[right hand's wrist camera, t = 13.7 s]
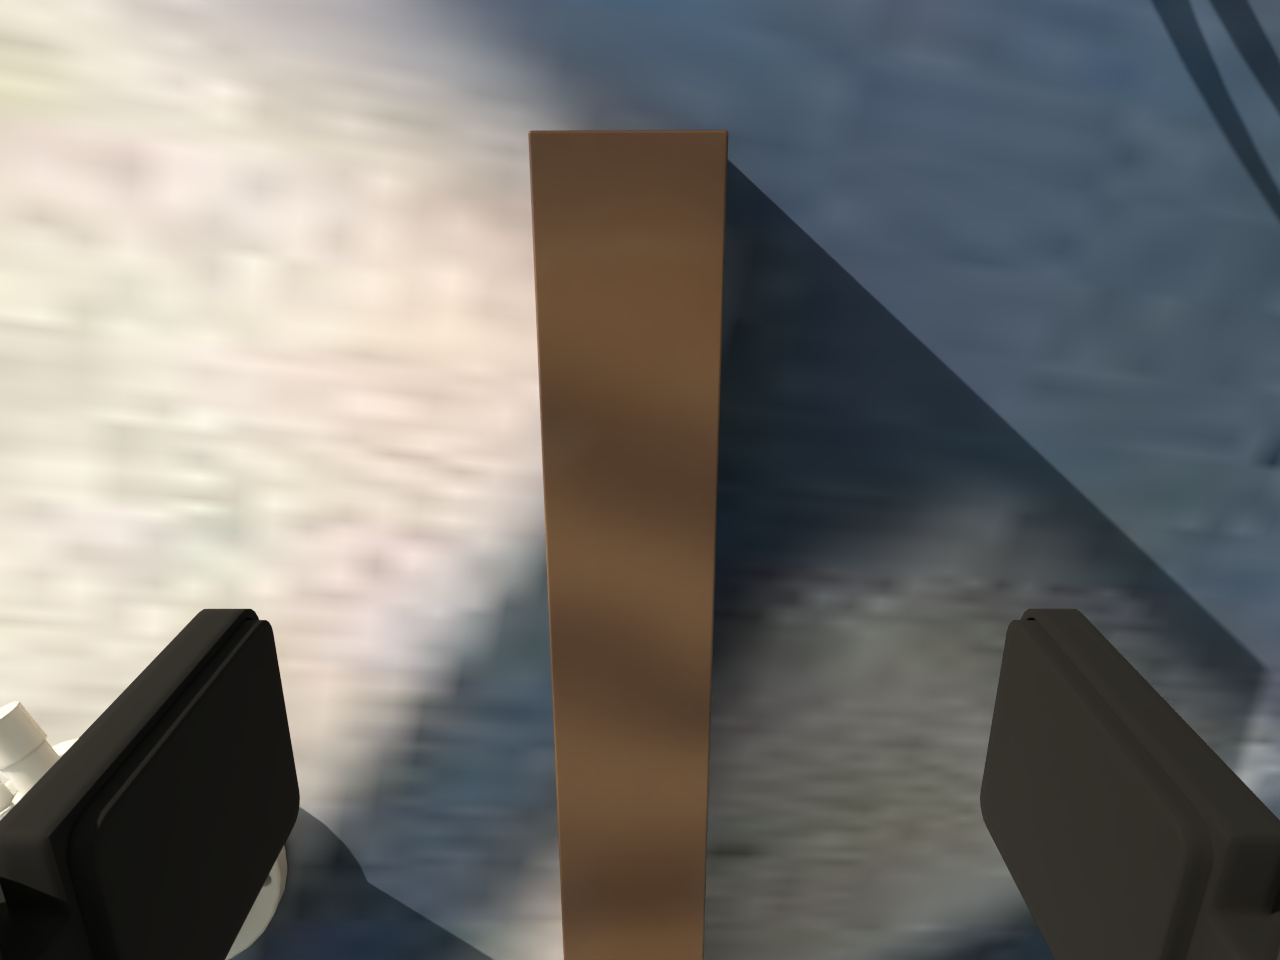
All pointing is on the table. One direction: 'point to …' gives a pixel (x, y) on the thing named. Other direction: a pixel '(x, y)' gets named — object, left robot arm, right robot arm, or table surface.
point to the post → (630, 520)
